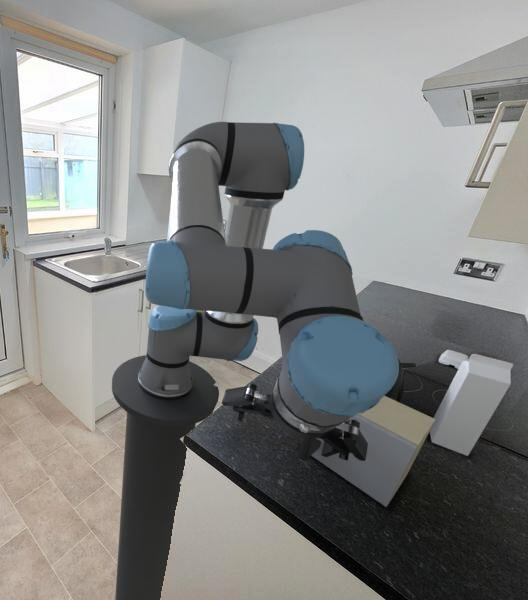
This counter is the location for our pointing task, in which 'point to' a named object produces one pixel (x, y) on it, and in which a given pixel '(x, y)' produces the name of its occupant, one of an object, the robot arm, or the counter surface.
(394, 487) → the oven door
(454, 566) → the counter surface
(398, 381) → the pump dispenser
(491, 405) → the milk
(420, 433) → the oven
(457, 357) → the soap
